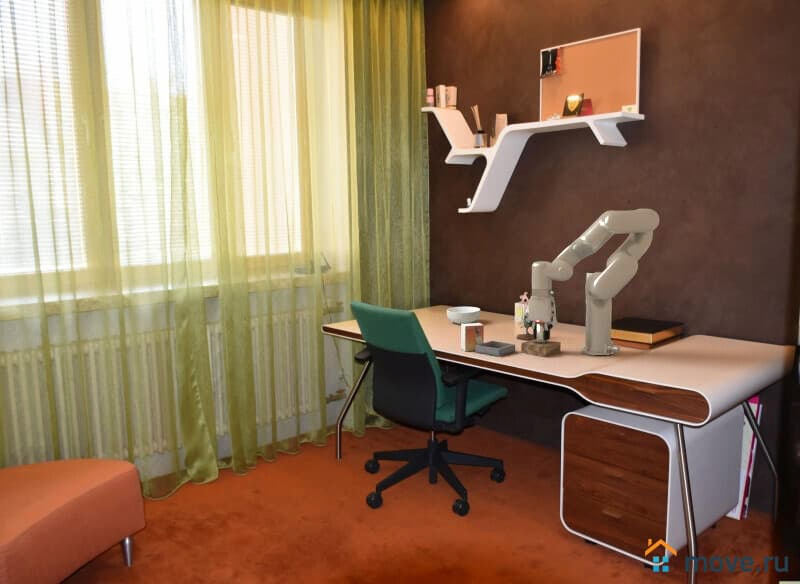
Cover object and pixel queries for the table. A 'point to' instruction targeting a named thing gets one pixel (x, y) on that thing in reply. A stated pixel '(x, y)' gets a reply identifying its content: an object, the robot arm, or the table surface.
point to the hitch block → (540, 348)
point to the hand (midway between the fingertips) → (541, 338)
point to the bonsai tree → (526, 336)
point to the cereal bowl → (463, 314)
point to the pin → (540, 332)
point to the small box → (471, 336)
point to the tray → (495, 348)
